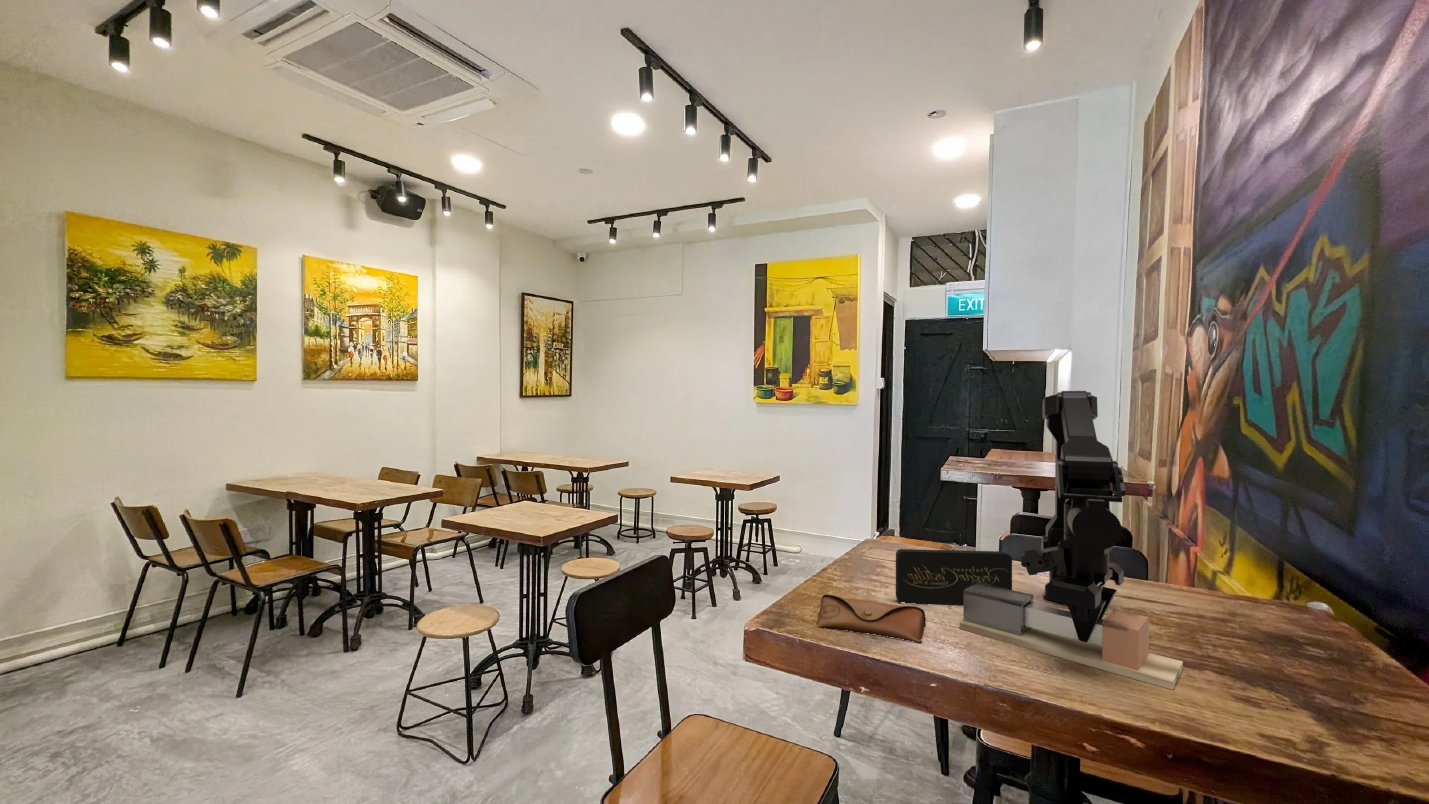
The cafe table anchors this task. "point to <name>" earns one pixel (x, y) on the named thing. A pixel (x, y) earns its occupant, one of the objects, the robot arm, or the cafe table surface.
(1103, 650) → the terracotta socket
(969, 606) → the grey sleeve
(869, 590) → the cafe table surface
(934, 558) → the nameplate
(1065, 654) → the base board
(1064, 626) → the silver rectangular bar
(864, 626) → the sunglasses case
